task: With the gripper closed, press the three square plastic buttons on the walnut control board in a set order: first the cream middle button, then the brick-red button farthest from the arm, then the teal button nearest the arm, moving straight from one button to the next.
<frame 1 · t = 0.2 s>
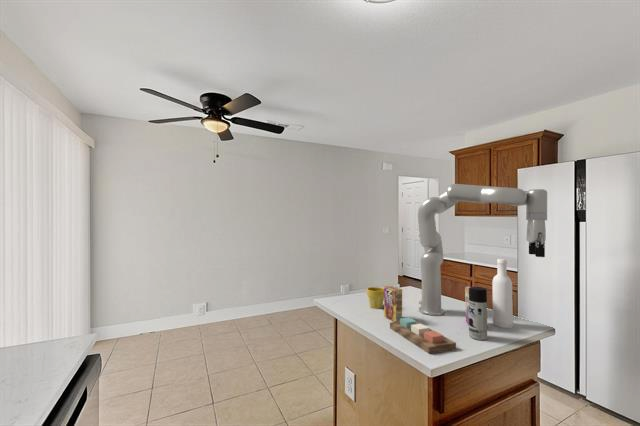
hand: (536, 255, 129), 32 cm above the table, tool pointing down, fingers open, 9 cm apart
candy box: (393, 319, 141), on the table
candy bar box: (473, 325, 132), on the table
brick red button: (433, 337, 111), point 3 cm above the table, slide at 0.0 cm
cream button: (420, 330, 118), point 3 cm above the table, slide at 0.0 cm
spray can: (478, 337, 119), on the table
bottle: (502, 325, 132), on the table
plant pot: (376, 307, 160), on the table
control board: (420, 337, 118), on the table
teal button: (408, 323, 126), point 3 cm above the table, slide at 0.0 cm
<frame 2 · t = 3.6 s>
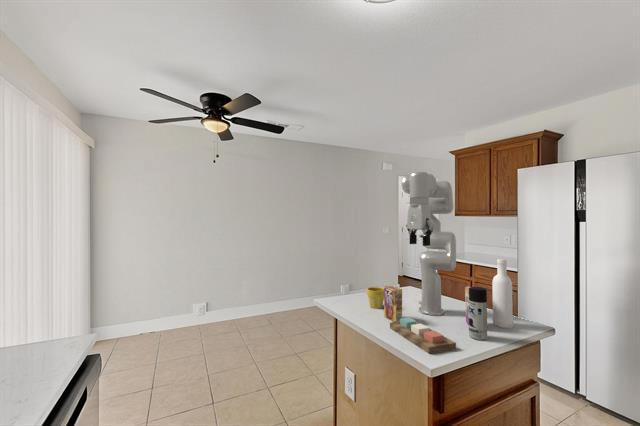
hand: (419, 244, 119), 38 cm above the table, tool pointing down, fingers open, 7 cm apart
nothing on the table moved.
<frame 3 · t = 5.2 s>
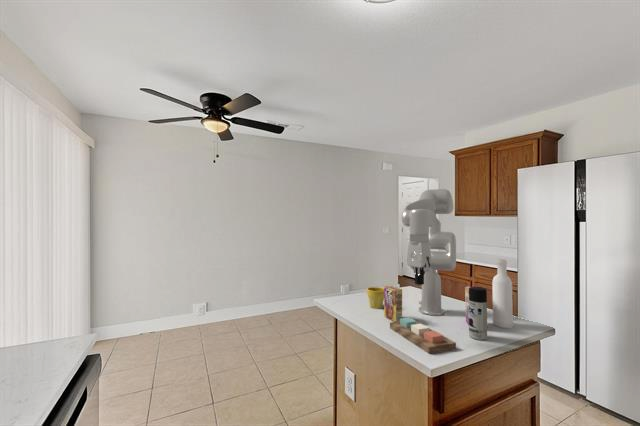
hand: (419, 284, 118), 22 cm above the table, tool pointing down, fingers closed
nothing on the table moved.
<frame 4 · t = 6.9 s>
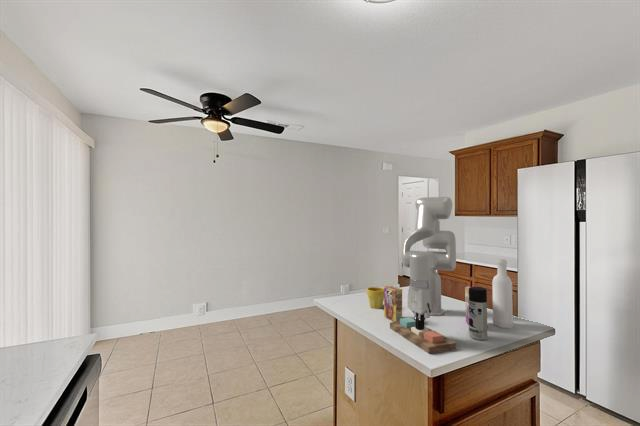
hand: (419, 328, 118), 4 cm above the table, tool pointing down, fingers closed
cream button: (420, 332, 118), point 2 cm above the table, slide at 1.0 cm, touching gripper
everything else where it was.
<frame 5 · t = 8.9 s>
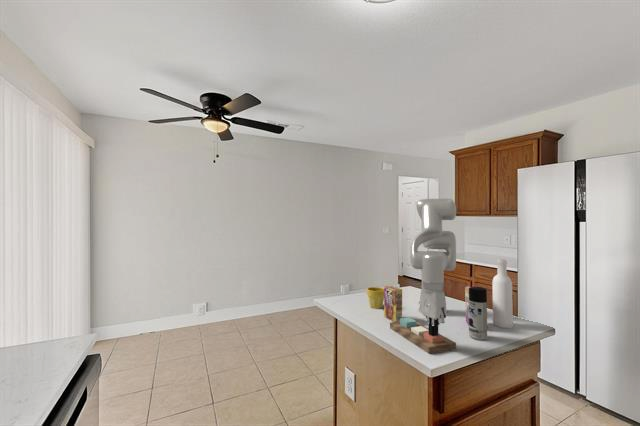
hand: (433, 334, 110), 4 cm above the table, tool pointing down, fingers closed
brick red button: (433, 338, 111), point 3 cm above the table, slide at 0.3 cm, touching gripper
cream button: (420, 332, 118), point 2 cm above the table, slide at 1.0 cm
everything else where it was.
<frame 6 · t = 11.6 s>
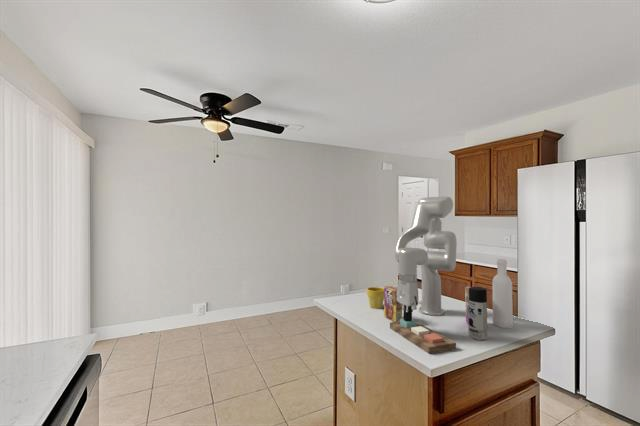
hand: (407, 320, 126), 5 cm above the table, tool pointing down, fingers closed
brick red button: (433, 340, 111), point 2 cm above the table, slide at 1.0 cm
teal button: (408, 323, 126), point 3 cm above the table, slide at 0.1 cm, touching gripper
everything else where it was.
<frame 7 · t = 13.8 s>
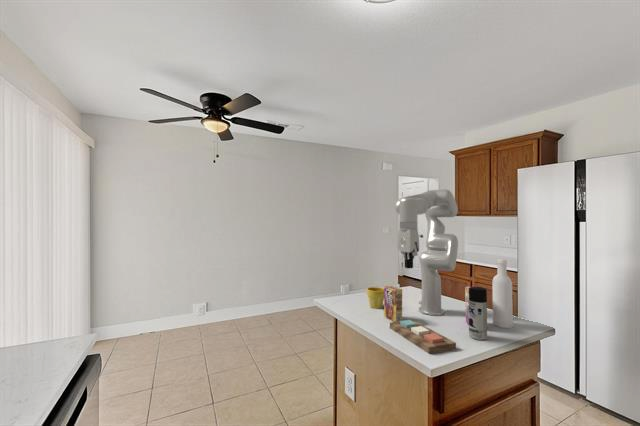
hand: (408, 267, 127), 27 cm above the table, tool pointing down, fingers closed
teal button: (408, 325, 126), point 2 cm above the table, slide at 1.0 cm
everything else where it was.
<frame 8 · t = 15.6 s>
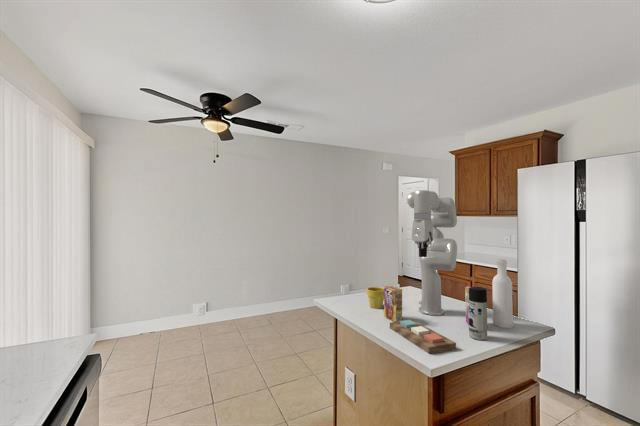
hand: (422, 256, 134), 31 cm above the table, tool pointing down, fingers closed
nothing on the table moved.
at the end: cream button slide at 1.0 cm; brick red button slide at 1.0 cm; teal button slide at 1.0 cm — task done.
